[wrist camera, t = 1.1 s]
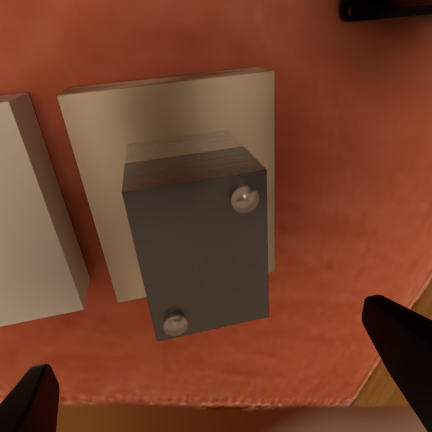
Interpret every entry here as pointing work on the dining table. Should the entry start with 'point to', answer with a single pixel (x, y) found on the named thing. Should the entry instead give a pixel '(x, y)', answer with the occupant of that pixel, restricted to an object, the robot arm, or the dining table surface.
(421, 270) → the dining table surface
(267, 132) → the stand
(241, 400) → the dining table surface
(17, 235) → the stand
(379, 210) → the dining table surface
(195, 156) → the housing
